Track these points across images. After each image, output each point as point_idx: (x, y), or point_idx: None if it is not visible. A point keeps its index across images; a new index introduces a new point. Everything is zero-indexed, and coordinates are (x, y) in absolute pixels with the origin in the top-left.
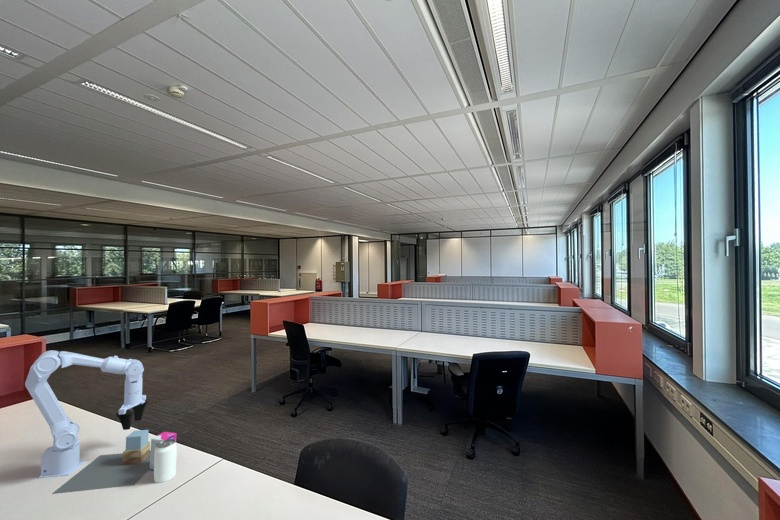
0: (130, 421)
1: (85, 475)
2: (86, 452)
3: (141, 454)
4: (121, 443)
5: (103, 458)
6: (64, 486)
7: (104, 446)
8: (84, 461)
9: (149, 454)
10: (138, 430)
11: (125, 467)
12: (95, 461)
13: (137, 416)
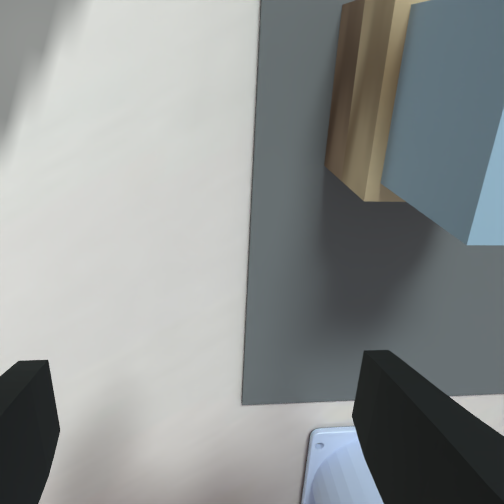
0: (484, 434)
1: (489, 339)
2: (172, 497)
3: None
4: (64, 372)
5: (295, 360)
6: None
7: (102, 451)
8: (313, 440)
9: (344, 5)
10: (487, 177)
11: None
12: (322, 384)
13: (27, 466)
